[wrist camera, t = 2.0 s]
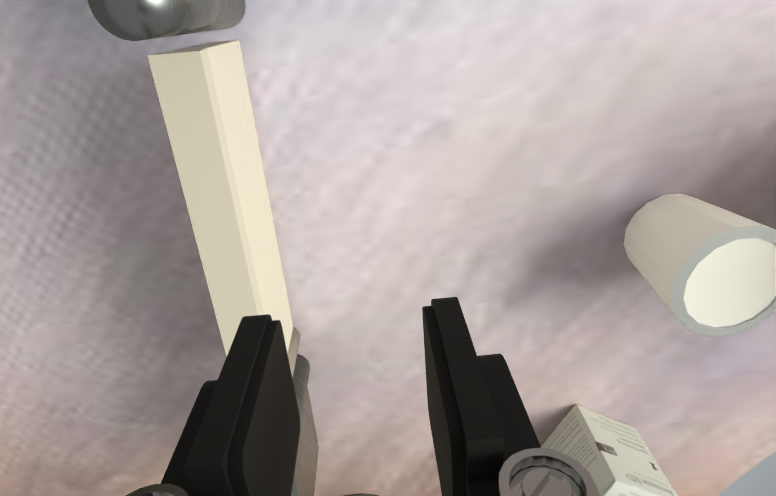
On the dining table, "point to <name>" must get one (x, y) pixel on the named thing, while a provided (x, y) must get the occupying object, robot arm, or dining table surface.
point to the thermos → (362, 495)
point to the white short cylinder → (705, 263)
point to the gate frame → (190, 15)
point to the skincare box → (609, 454)
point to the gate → (224, 183)
